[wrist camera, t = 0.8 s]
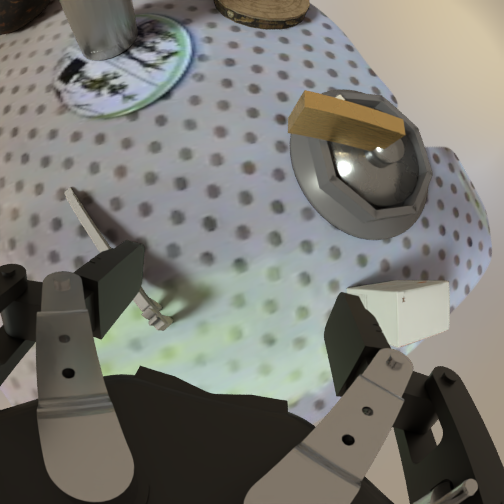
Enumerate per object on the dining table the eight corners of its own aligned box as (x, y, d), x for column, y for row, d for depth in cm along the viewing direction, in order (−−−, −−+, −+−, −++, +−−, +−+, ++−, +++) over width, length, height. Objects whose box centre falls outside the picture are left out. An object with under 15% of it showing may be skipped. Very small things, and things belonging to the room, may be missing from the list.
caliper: (174, 319, 32) (168, 329, 26) (167, 325, 32) (159, 337, 25) (71, 187, 31) (49, 172, 24) (65, 193, 30) (42, 179, 24)
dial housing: (273, 91, 35) (280, 74, 31) (399, 97, 39) (413, 86, 35) (310, 253, 34) (323, 251, 31) (438, 228, 38) (456, 224, 34)
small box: (347, 331, 35) (396, 349, 24) (345, 287, 35) (395, 291, 25) (397, 320, 36) (450, 331, 26) (395, 279, 36) (450, 280, 26)
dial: (405, 126, 37) (442, 100, 28) (412, 215, 36) (459, 202, 27) (282, 92, 34) (303, 48, 25) (277, 192, 33) (303, 164, 24)
